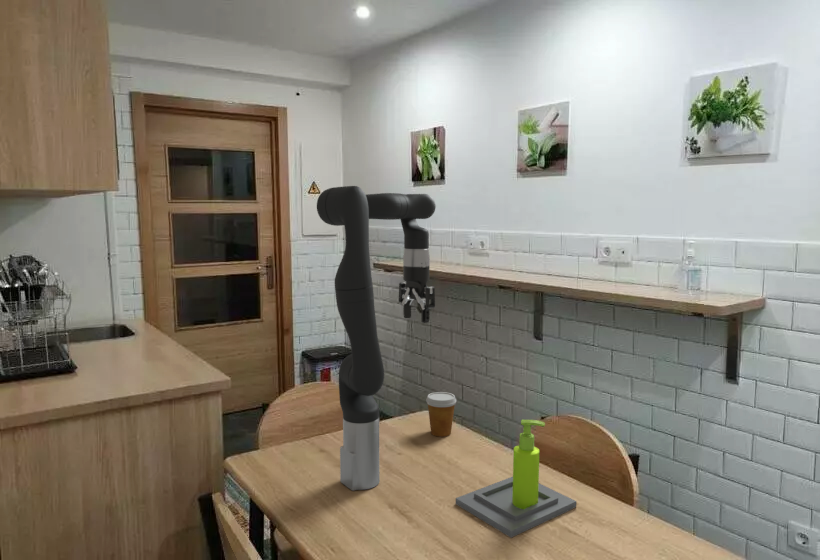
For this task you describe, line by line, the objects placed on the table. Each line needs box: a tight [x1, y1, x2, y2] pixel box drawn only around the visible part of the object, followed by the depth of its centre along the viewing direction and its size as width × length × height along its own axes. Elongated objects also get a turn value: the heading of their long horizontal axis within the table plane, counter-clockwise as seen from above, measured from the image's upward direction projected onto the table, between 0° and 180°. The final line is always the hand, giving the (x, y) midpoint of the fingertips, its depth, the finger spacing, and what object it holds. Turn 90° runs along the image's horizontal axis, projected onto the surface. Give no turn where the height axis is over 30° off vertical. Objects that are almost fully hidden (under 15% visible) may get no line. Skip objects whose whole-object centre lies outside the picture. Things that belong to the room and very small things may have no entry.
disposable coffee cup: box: [425, 391, 457, 438], centre depth 184 cm, size 10×10×12 cm
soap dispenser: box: [512, 419, 546, 509], centre depth 135 cm, size 6×7×20 cm
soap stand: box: [455, 476, 577, 538], centre depth 139 cm, size 22×18×2 cm
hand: (416, 320), depth 169 cm, fingers open, 8 cm apart
